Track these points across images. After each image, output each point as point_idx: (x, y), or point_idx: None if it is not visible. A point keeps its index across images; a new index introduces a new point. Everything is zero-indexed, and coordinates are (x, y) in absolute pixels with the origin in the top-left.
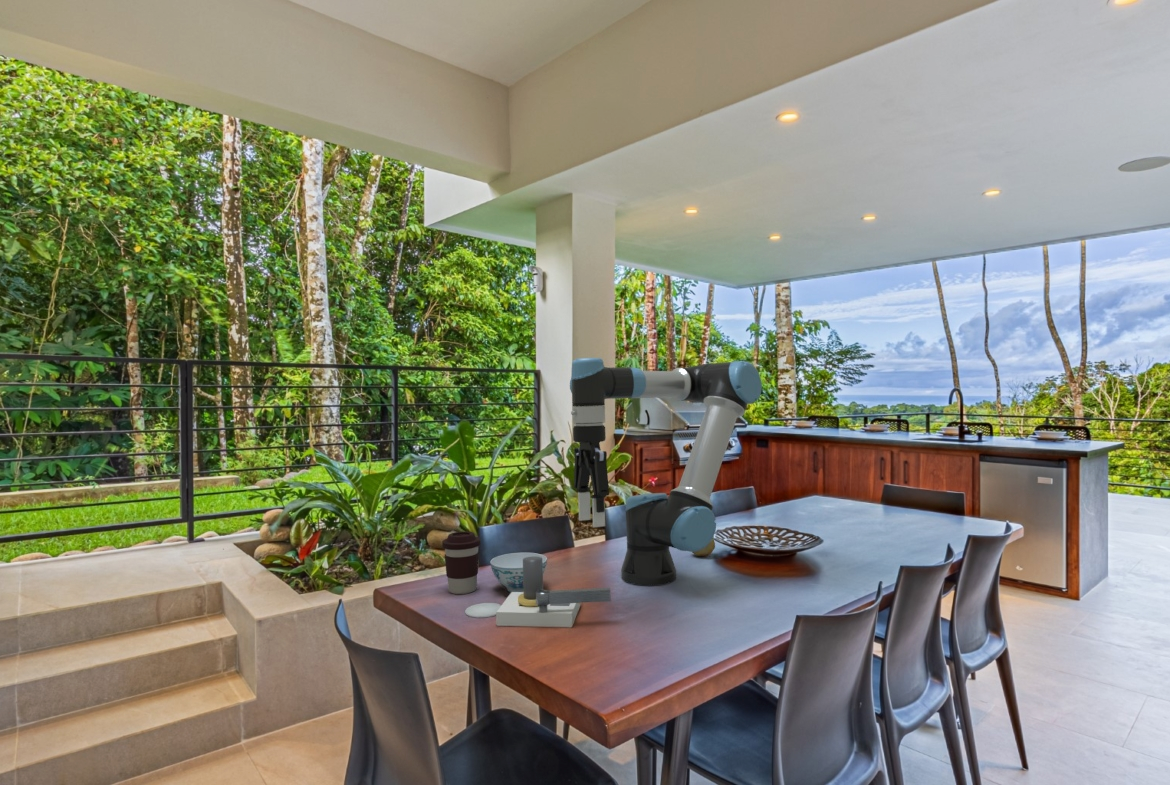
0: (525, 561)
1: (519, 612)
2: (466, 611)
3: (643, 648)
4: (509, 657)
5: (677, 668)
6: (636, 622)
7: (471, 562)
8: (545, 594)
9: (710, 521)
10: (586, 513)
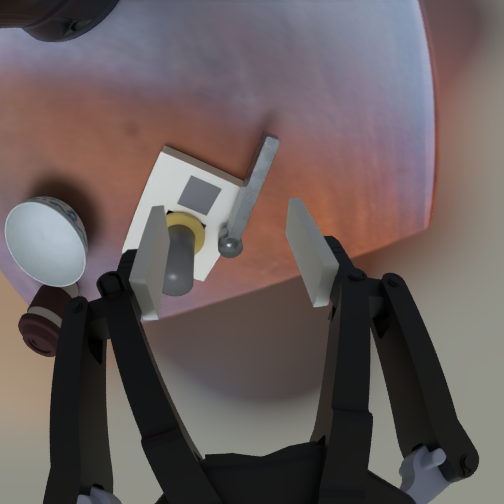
0: (184, 293)
1: (217, 258)
2: None
3: (368, 134)
4: None
5: (421, 134)
6: (286, 90)
7: (62, 309)
8: (242, 246)
9: None
10: (163, 233)
